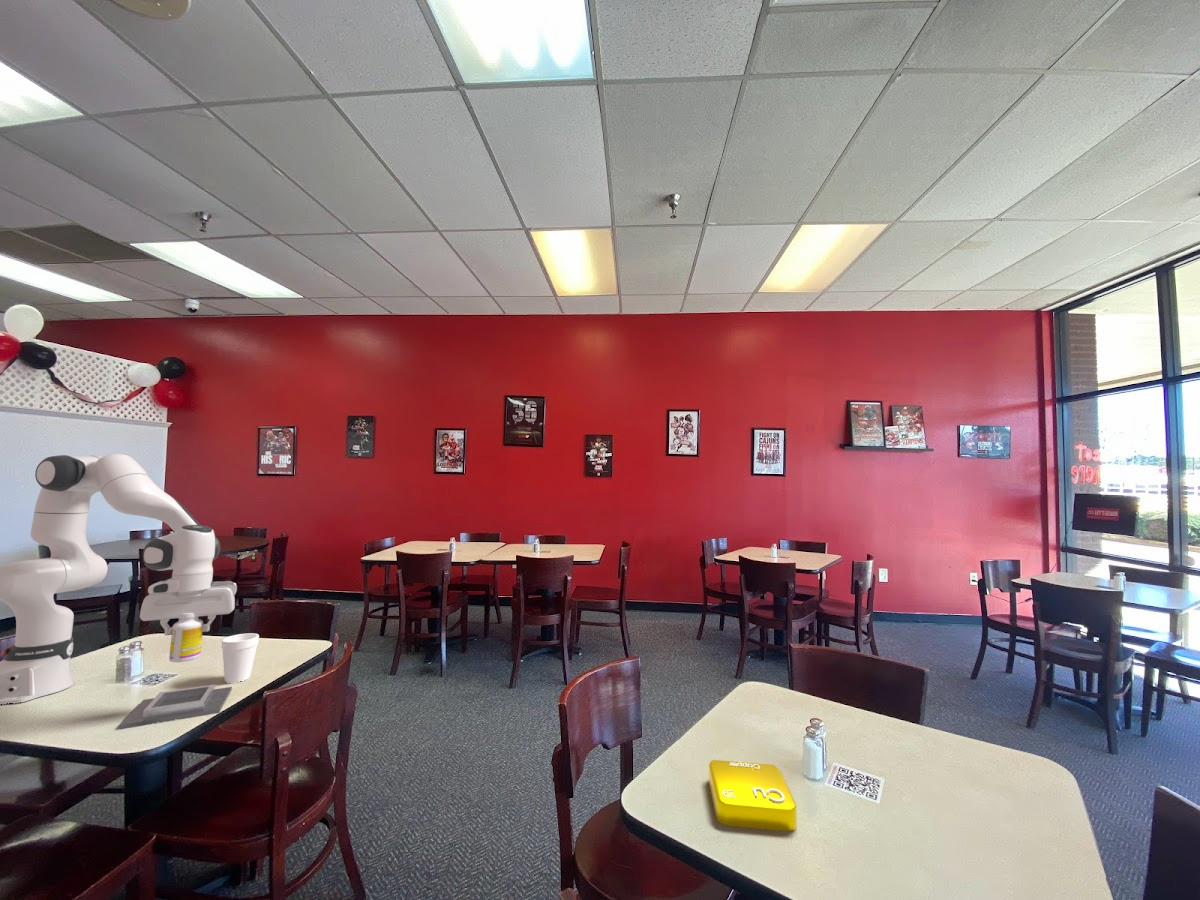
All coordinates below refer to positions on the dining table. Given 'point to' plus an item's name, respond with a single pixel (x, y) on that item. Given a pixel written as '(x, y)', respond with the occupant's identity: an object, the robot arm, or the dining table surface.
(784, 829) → the element tile
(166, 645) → the dining table surface
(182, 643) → the supplement bottle
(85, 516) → the robot arm
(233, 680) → the foam cup
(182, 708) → the grey tray
